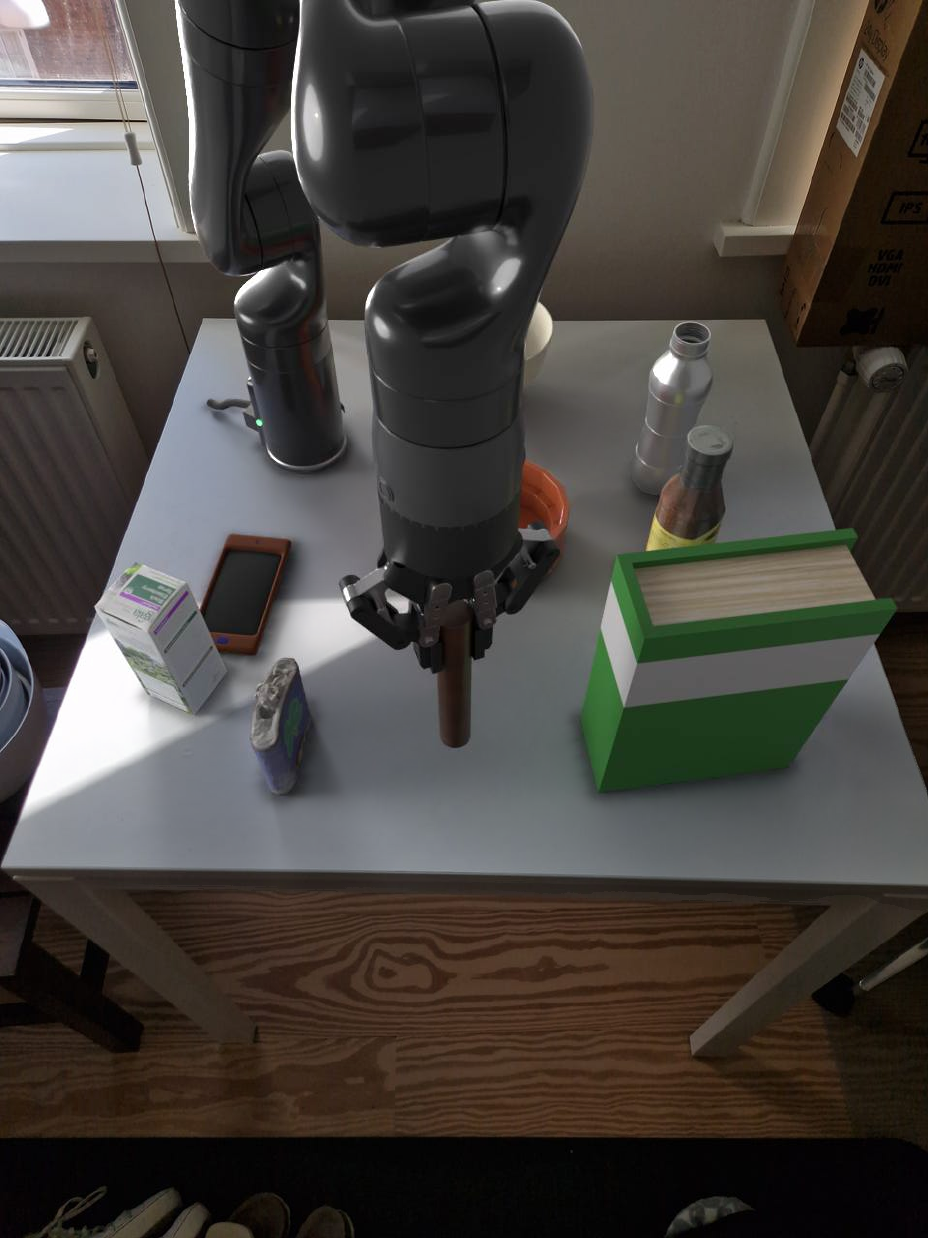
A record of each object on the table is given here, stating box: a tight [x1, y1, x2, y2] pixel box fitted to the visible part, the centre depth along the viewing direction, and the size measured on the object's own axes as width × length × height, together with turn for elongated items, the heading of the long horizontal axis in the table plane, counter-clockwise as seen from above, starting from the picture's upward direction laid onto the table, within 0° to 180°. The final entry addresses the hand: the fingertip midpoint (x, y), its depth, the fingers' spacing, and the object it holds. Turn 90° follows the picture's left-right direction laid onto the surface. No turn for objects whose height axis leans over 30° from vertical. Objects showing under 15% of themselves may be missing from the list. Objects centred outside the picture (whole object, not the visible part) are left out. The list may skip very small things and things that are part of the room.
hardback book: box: [579, 527, 898, 794], centre depth 69 cm, size 18×7×24 cm, turn 98°
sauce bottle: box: [645, 425, 735, 551], centre depth 81 cm, size 6×6×20 cm
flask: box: [249, 657, 312, 796], centre depth 74 cm, size 9×3×11 cm, turn 173°
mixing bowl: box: [512, 459, 571, 588], centre depth 91 cm, size 14×14×6 cm
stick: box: [436, 599, 473, 749], centre depth 60 cm, size 2×2×16 cm
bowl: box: [523, 300, 555, 392], centre depth 104 cm, size 16×16×10 cm
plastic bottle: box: [629, 321, 714, 496], centre depth 90 cm, size 6×7×20 cm
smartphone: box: [199, 533, 292, 657], centre depth 88 cm, size 7×1×15 cm
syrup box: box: [94, 561, 227, 716], centre depth 77 cm, size 6×6×14 cm
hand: (452, 655), depth 57 cm, fingers closed on stick, 2 cm apart
